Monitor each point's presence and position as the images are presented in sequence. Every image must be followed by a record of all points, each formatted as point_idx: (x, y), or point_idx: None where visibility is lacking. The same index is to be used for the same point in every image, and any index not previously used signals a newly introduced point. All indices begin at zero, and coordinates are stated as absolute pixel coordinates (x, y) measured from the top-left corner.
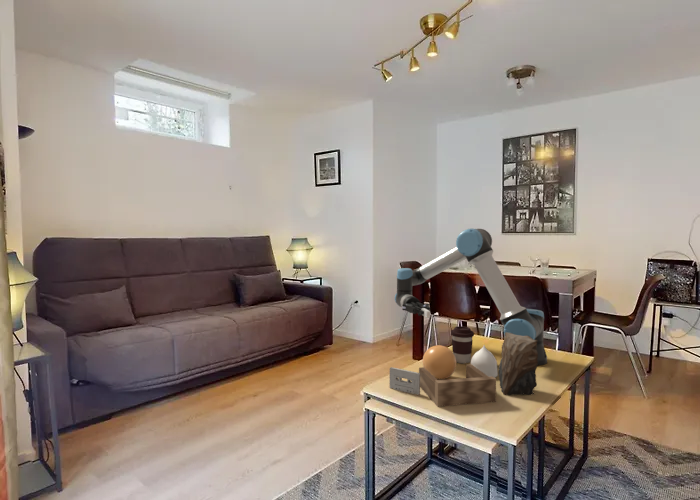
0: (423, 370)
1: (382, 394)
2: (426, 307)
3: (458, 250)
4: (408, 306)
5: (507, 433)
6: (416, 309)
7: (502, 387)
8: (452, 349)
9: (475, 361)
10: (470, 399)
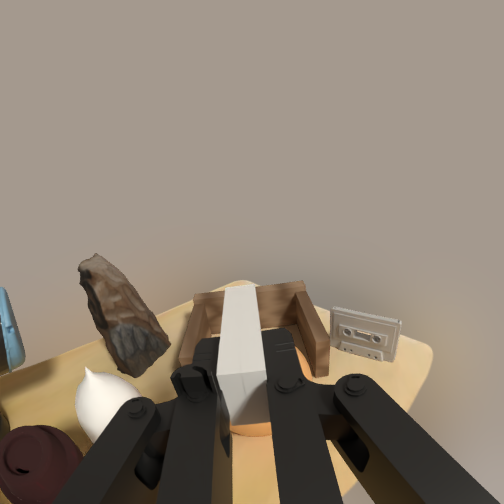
0: (320, 327)
1: (400, 336)
2: (186, 373)
3: None
4: (475, 482)
5: (240, 283)
6: (336, 388)
7: (162, 344)
8: None
9: (137, 394)
10: None
